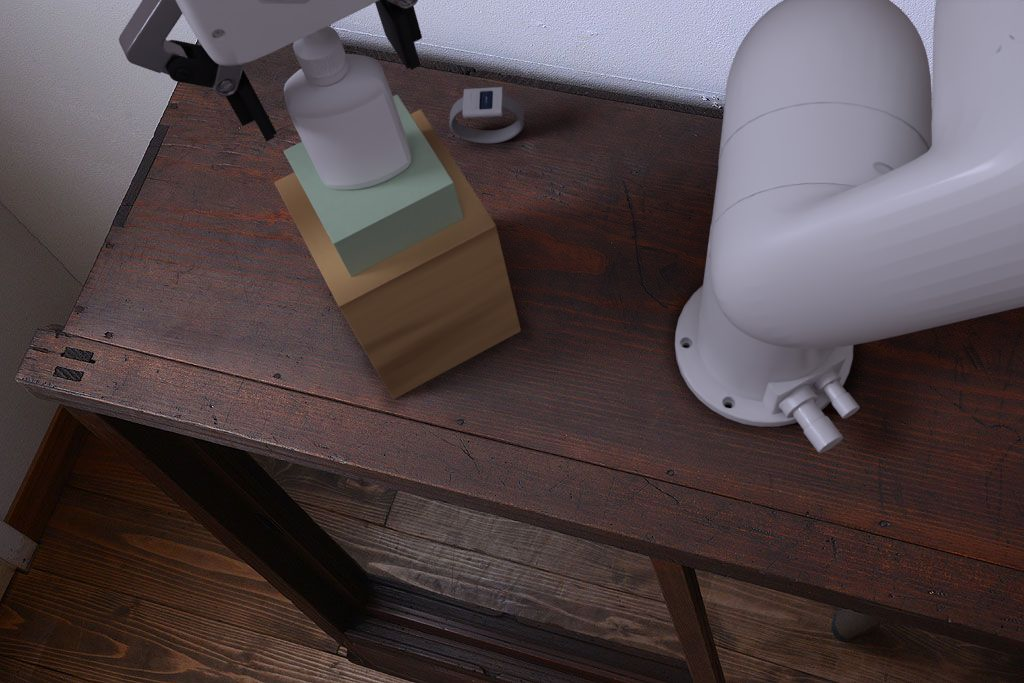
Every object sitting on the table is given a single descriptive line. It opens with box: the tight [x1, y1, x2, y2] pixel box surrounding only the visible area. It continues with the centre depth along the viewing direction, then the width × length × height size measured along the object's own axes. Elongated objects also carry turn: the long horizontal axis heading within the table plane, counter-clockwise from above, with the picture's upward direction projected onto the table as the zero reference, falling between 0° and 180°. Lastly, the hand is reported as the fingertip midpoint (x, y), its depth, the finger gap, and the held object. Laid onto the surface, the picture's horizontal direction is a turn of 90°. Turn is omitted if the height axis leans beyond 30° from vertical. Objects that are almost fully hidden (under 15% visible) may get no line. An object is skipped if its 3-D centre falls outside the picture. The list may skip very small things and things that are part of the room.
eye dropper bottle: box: [283, 25, 411, 190], centre depth 54 cm, size 4×6×12 cm
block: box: [283, 94, 464, 277], centre depth 61 cm, size 8×8×4 cm
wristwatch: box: [448, 86, 525, 145], centre depth 80 cm, size 6×3×5 cm, turn 88°
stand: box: [274, 108, 522, 400], centre depth 69 cm, size 11×11×15 cm
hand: (333, 85), depth 53 cm, fingers open, 8 cm apart
